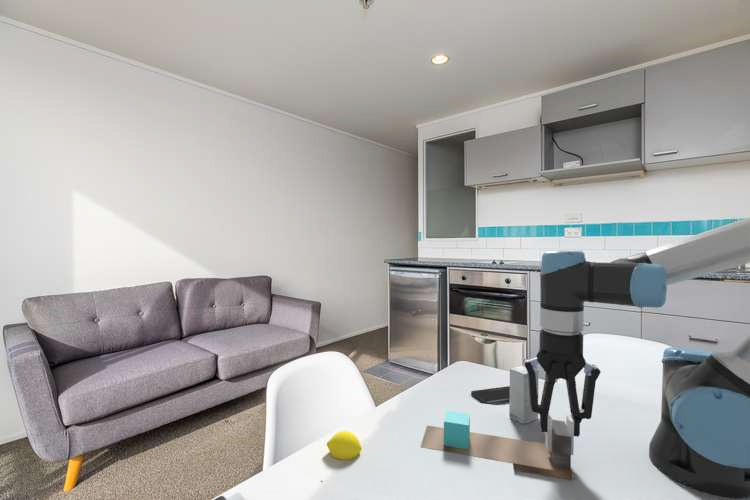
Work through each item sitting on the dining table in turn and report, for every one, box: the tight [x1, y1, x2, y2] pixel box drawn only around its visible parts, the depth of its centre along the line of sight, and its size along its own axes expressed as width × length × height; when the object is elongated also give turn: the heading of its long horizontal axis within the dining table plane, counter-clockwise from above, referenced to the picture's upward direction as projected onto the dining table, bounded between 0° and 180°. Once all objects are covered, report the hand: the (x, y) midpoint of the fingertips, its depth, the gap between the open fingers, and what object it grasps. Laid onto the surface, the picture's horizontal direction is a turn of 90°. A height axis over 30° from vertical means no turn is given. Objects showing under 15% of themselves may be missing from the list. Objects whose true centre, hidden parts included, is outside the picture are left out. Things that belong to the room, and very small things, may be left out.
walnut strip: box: [420, 419, 573, 481], centre depth 74 cm, size 28×9×7 cm, turn 73°
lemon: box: [326, 430, 362, 461], centre depth 72 cm, size 7×5×5 cm
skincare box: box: [508, 364, 539, 425], centre depth 89 cm, size 6×4×12 cm
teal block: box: [443, 410, 471, 450], centre depth 76 cm, size 5×5×5 cm
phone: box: [470, 385, 510, 406], centre depth 101 cm, size 8×1×15 cm
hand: (558, 449), depth 71 cm, fingers closed on walnut strip, 3 cm apart
